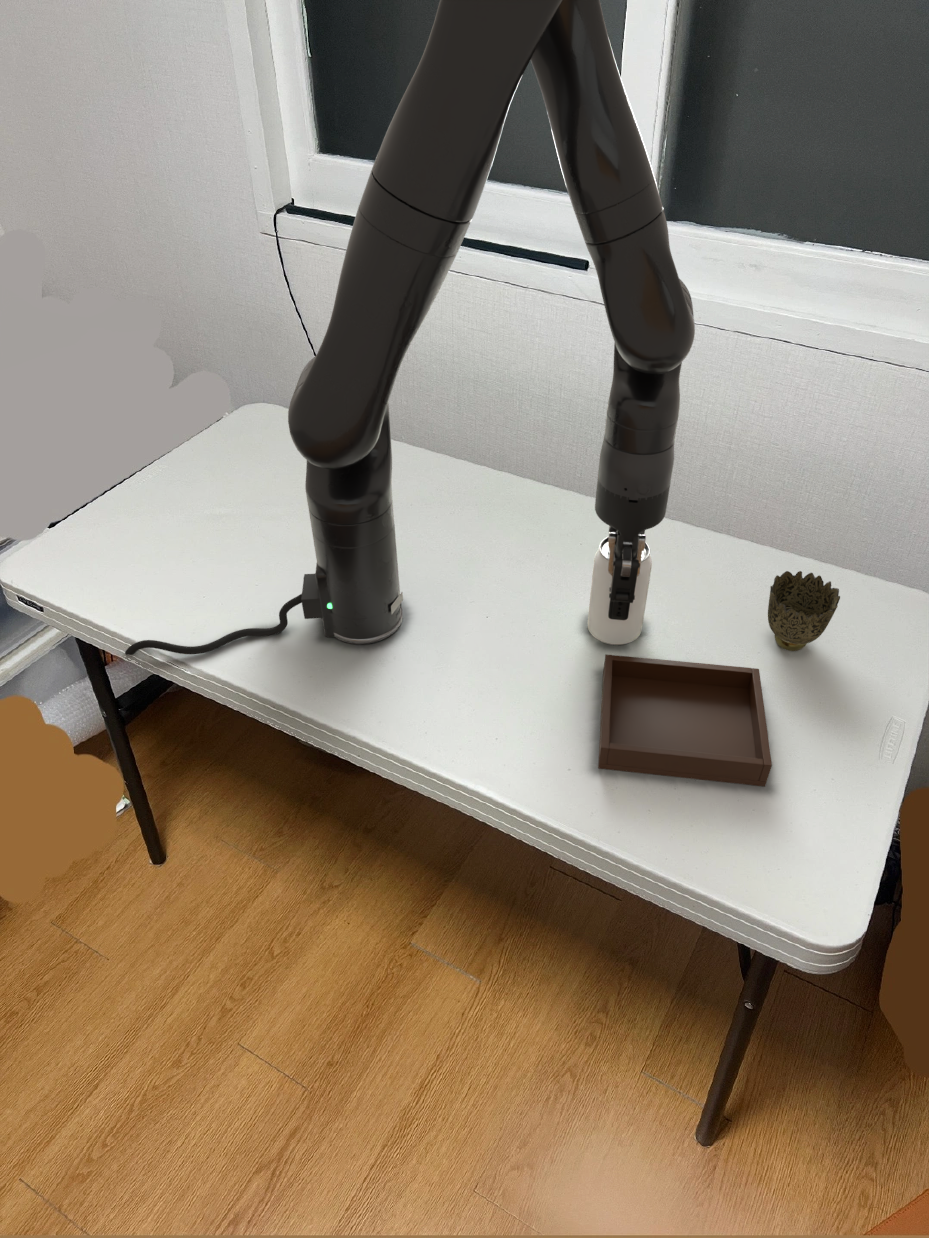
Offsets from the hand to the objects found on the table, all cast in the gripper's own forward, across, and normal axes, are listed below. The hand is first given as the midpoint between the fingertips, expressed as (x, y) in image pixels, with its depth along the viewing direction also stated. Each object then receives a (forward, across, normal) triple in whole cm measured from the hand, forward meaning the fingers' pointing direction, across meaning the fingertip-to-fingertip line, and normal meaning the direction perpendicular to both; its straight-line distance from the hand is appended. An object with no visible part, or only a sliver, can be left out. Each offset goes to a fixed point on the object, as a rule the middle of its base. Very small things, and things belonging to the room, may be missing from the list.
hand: (618, 597), depth 104 cm
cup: (+5, 0, +20) cm, 21 cm away
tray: (+5, +15, +7) cm, 17 cm away
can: (+5, 0, 0) cm, 5 cm away
